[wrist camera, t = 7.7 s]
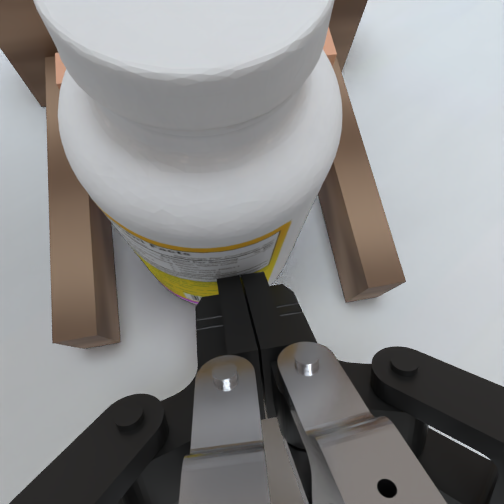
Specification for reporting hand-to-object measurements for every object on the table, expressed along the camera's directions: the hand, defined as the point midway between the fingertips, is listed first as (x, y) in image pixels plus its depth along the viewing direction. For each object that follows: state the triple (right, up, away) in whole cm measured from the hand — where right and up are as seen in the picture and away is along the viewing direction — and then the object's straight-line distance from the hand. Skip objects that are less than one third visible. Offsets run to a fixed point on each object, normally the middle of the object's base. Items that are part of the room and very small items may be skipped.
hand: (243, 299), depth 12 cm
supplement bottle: (-1, +2, +6) cm, 6 cm away
